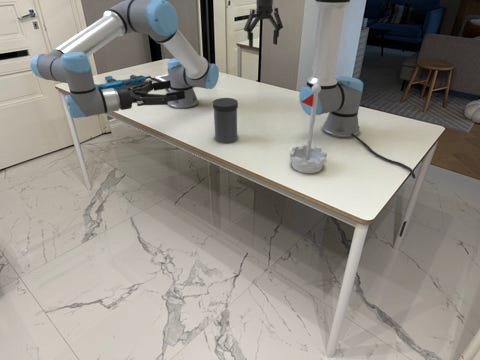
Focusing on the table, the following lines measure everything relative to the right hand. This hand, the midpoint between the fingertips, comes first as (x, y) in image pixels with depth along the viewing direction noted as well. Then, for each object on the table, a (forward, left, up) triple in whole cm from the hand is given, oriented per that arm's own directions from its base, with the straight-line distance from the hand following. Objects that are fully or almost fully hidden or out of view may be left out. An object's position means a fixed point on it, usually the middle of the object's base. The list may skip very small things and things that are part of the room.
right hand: (263, 45), depth 167 cm
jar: (-34, +35, -28) cm, 57 cm away
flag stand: (-68, +18, -28) cm, 76 cm away
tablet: (+53, +29, -28) cm, 66 cm away
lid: (-34, +35, -12) cm, 51 cm away
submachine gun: (+63, +64, -28) cm, 94 cm away
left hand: (-36, +55, -4) cm, 66 cm away
